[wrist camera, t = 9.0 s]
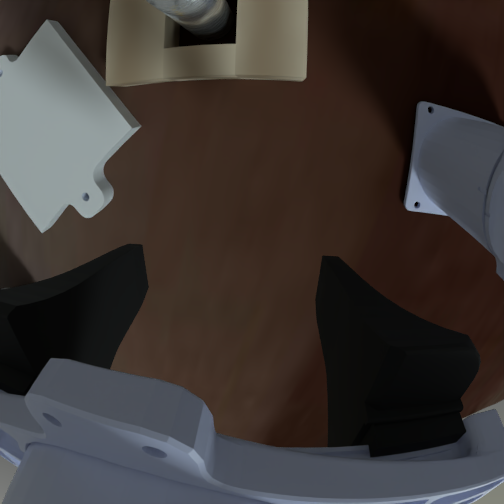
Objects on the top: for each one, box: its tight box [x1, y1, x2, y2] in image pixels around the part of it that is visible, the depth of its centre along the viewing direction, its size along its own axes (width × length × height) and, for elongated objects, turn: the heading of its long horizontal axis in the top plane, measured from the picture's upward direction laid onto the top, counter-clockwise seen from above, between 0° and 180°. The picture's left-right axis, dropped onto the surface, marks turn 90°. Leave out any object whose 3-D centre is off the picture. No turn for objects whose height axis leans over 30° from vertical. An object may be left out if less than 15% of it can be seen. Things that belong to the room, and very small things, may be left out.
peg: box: [146, 0, 234, 40], centre depth 12 cm, size 3×3×8 cm
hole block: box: [106, 0, 308, 86], centre depth 15 cm, size 12×8×3 cm, turn 88°
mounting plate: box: [0, 19, 141, 233], centre depth 19 cm, size 18×13×2 cm
